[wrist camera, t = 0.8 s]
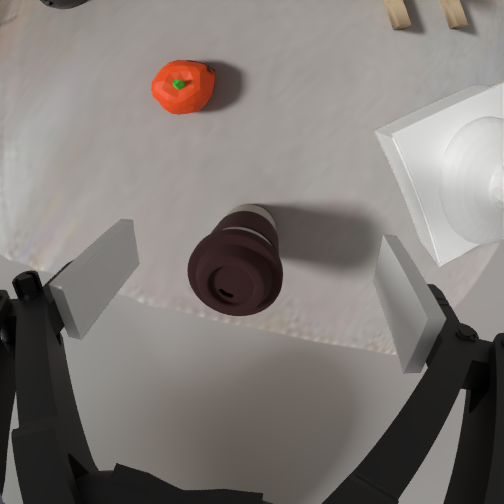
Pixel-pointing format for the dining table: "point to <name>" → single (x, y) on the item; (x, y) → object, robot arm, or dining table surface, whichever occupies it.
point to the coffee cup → (238, 263)
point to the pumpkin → (183, 86)
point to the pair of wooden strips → (401, 19)
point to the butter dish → (452, 169)
